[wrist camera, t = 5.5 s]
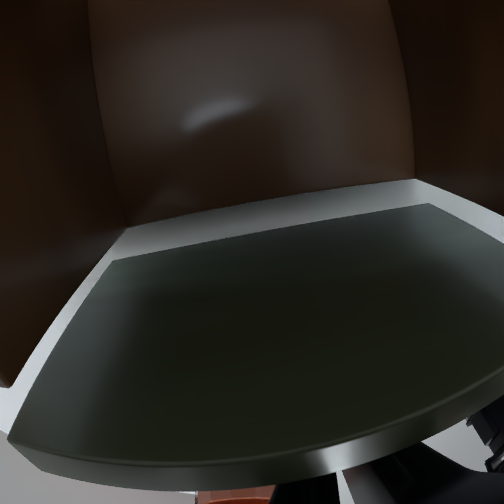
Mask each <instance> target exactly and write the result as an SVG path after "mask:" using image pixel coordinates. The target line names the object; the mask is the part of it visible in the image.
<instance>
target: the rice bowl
mask: <svg viewBox="0 0 504 504" xmlns="http://www.w3.org/2000/svg"><path fill="white" fill-rule="evenodd" d="M274 487H275V485H270V486H263V487H255V488H246V489H235V490H222V491H195V504H268V502H269V500H270V498H271V495H272V492H273V490H274Z"/></svg>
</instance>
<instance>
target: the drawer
mask: <svg viewBox="0 0 504 504" xmlns="http://www.w3.org/2000/svg"><path fill="white" fill-rule="evenodd" d="M407 179H417V180H420V181H423V182H425V183H428V184H431V185H433V186H436V187H438V188H441V189H443V190H446V191H448V192H451V193H453V194H456V195H458V196H460V197H463V198H465V199H467V200H469V201H472V202H474V203H476V204H478V205H481V206H483V207H485V208H487V209H489V210H491V211H493V212H495V213H497V214H500V215H502V216H504V0H0V387H3V388H10V387H11V386H12V385H13V383H14V382H15V380H16V378H17V377H18V375H19V373H20V372H21V370H22V368H23V367H24V365H25V363H26V362H27V360H28V359H29V357H30V355H31V354H32V352H33V351H34V349H35V348H36V346H37V345H38V343H39V342H40V340H41V339H42V337H43V336H44V334H45V333H46V331H47V330H48V328H49V327H50V325H51V324H52V322H53V321H54V320H55V318H56V317H57V315H58V314H59V313H60V311H61V310H62V308H63V307H64V306H65V304H66V303H67V302H68V300H69V299H70V298H71V296H72V295H73V294H74V292H75V291H76V290H77V288H78V287H79V286H80V285H81V283H82V282H83V281H84V279H85V278H86V277H87V276H88V274H89V273H90V272H91V271H92V269H93V268H94V267H95V266H96V264H97V263H98V262H99V261H100V260H101V258H102V257H103V256H104V255H105V254H106V252H107V251H108V250H109V249H110V248H111V247H112V245H113V244H114V243H115V242H116V241H117V240H118V238H119V237H120V236H121V235H122V234H123V233H124V232H125V230H126V229H127V228H131V227H135V226H139V225H144V224H148V223H152V222H157V221H161V220H166V219H170V218H175V217H180V216H185V215H189V214H194V213H199V212H204V211H209V210H214V209H219V208H224V207H229V206H235V205H240V204H246V203H251V202H257V201H262V200H268V199H274V198H280V197H285V196H292V195H298V194H304V193H310V192H317V191H323V190H330V189H337V188H344V187H351V186H358V185H366V184H374V183H382V182H390V181H398V180H407ZM502 395H504V244H503V243H501V242H500V241H498V240H496V239H495V238H493V237H491V236H490V235H488V234H486V233H484V232H483V231H481V230H479V229H477V228H476V227H474V226H472V225H470V224H468V223H467V222H465V221H463V220H461V219H459V218H457V217H455V216H453V215H451V214H449V213H448V212H446V211H444V210H442V209H440V208H438V207H436V206H434V205H432V204H429V203H427V204H421V205H414V206H408V207H402V208H395V209H389V210H383V211H377V212H371V213H365V214H359V215H353V216H347V217H341V218H335V219H329V220H324V221H318V222H312V223H307V224H301V225H295V226H290V227H284V228H279V229H273V230H268V231H262V232H257V233H251V234H246V235H240V236H235V237H230V238H225V239H219V240H214V241H209V242H204V243H198V244H193V245H188V246H183V247H178V248H173V249H168V250H163V251H158V252H153V253H148V254H143V255H138V256H133V257H128V258H123V259H119V260H114V261H112V262H111V264H110V265H109V266H108V268H107V269H106V270H105V272H104V273H103V274H102V276H101V277H100V279H99V280H98V281H97V283H96V284H95V286H94V287H93V288H92V290H91V291H90V293H89V294H88V296H87V297H86V298H85V300H84V301H83V303H82V304H81V306H80V307H79V309H78V310H77V312H76V313H75V315H74V316H73V318H72V319H71V321H70V323H69V324H68V326H67V327H66V329H65V330H64V332H63V334H62V335H61V337H60V338H59V340H58V342H57V343H56V345H55V347H54V348H53V350H52V352H51V353H50V355H49V357H48V358H47V360H46V362H45V364H44V365H43V367H42V369H41V371H40V372H39V374H38V376H37V378H36V380H35V382H34V383H33V385H32V387H31V389H30V391H29V393H28V395H27V397H26V399H25V401H24V403H23V405H22V407H21V409H20V411H19V413H18V415H17V417H16V419H15V421H14V423H13V426H12V428H11V430H10V432H9V434H8V437H7V440H8V442H9V443H10V444H11V445H12V446H13V447H15V449H17V450H18V451H19V452H20V453H21V454H22V455H23V456H24V457H26V458H27V459H28V460H29V461H30V462H31V463H33V464H34V465H35V466H36V467H37V468H39V469H40V470H41V471H44V472H48V473H51V474H55V475H59V476H63V477H67V478H71V479H76V480H80V481H86V482H90V483H96V484H102V485H108V486H115V487H123V488H132V489H142V490H155V491H156V490H157V491H222V490H235V489H246V488H255V487H263V486H270V485H277V484H283V483H288V482H294V481H299V480H304V479H308V478H313V477H317V476H322V475H326V474H330V473H333V472H337V471H341V470H344V469H348V468H351V467H354V466H358V465H361V464H364V463H367V462H370V461H373V460H376V459H378V458H381V457H384V456H387V455H389V454H392V453H395V452H397V451H400V450H402V449H404V448H407V447H409V446H412V445H414V444H416V443H418V442H421V441H423V440H425V439H427V438H429V437H431V436H433V435H435V434H437V433H439V432H441V431H443V430H445V429H447V428H449V427H451V426H453V425H455V424H457V423H458V422H460V421H462V420H463V419H466V418H467V417H469V416H471V415H472V414H474V413H476V412H477V411H479V410H481V409H482V408H484V407H486V406H487V405H489V404H490V403H492V402H493V401H495V400H496V399H498V398H499V397H501V396H502Z"/></svg>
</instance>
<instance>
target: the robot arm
mask: <svg viewBox="0 0 504 504" xmlns="http://www.w3.org/2000/svg"><path fill="white" fill-rule="evenodd" d="M466 425H467V426H470V425H473V427H474V428H475V430H476V431H477V433H478V435H479V436H480V438H481V439H482V441H483V443H484V445H485V446H487V445H489V447H490V449H491V450H492V452H493V454H494V455H493V456H492V457H490V458H488V459H487V460H486V461H485V466H486V468H487V471H488V472H479V471H474V470H471V469H468V468H466V467H464V466H462V465H460V464H458V463H456V462H454V461H453V460H451V459H449V458H447V457H446V456H444V455H442V454H440V453H439V452H437V451H435V450H434V449H432V448H430V447H429V446H427V445H425V444H424V443H423V442H418V443H416V444H414V445H412V446H409V447H407V448H404V449H402V450H400V451H397V452H395V453H392V454H389V455H387V456H384V457H381V458H378V459H376V460H373V461H370V462H367V463H364V464H361V465H358V466H354V467H351V468H348V469H344V470H342V472H343V475H344V478H345V480H346V483H347V485H348V488H349V490H350V493H351V495H352V498H353V500H354V503H355V504H504V460H503V461H502V460H501V458H502V457H503V456H504V395H502V396H501V397H499V398H498V399H496V400H495V401H493V402H492V403H490V404H489V405H487V406H486V407H484V408H482V409H481V410H479V411H477V412H476V413H474V414H472V415H471V416H470V418H469V420H468V421H467V423H466ZM268 504H340V499H339V491H338V483H337V475H336V472H333V473H330V474H326V475H322V476H317V477H313V478H308V479H304V480H299V481H294V482H288V483H283V484H277V485H275V487H274V490H273V492H272V495H271V498H270V500H269V502H268Z"/></svg>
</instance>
